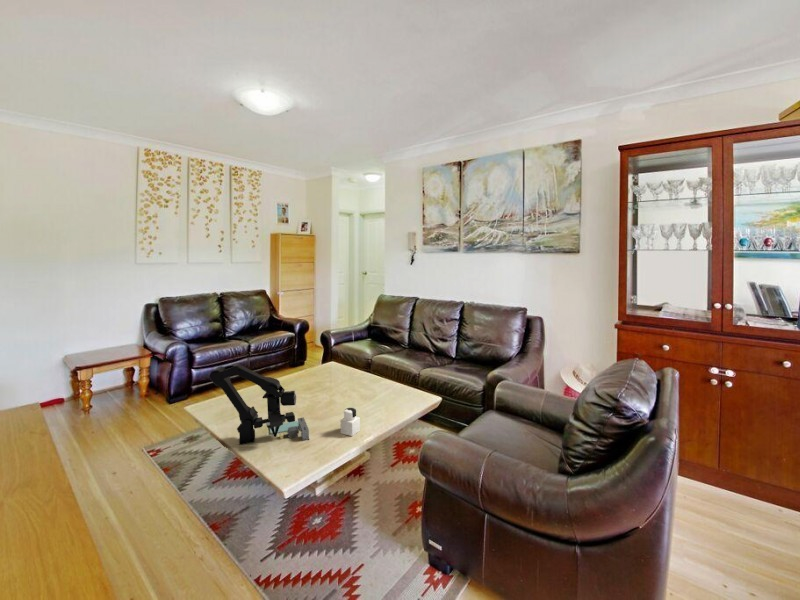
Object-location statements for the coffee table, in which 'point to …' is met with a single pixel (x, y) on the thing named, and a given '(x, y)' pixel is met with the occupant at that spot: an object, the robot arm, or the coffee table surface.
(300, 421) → the housing
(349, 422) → the medicine bottle
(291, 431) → the plug
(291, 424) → the mat
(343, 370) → the coffee table surface
